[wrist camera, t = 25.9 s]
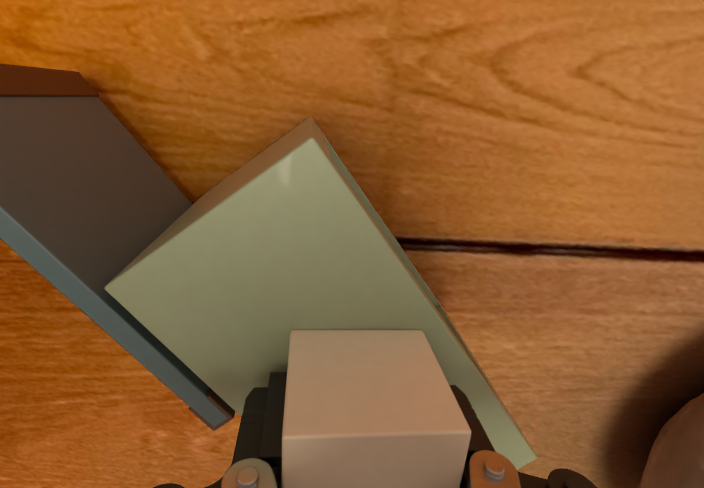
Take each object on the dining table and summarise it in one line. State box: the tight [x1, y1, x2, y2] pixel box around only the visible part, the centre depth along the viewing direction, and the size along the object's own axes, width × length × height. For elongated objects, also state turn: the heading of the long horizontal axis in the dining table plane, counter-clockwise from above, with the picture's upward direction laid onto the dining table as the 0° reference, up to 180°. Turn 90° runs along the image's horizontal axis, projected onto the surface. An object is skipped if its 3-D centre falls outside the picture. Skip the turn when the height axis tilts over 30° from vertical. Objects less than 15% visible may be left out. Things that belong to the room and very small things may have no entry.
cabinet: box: [105, 116, 537, 470], centre depth 21 cm, size 10×16×13 cm, turn 34°
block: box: [282, 330, 471, 488], centre depth 12 cm, size 5×5×5 cm
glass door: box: [0, 64, 235, 430], centre depth 18 cm, size 9×15×12 cm, turn 34°
